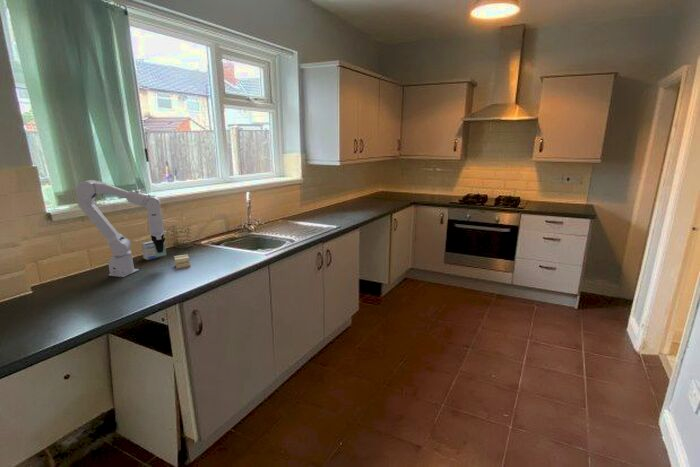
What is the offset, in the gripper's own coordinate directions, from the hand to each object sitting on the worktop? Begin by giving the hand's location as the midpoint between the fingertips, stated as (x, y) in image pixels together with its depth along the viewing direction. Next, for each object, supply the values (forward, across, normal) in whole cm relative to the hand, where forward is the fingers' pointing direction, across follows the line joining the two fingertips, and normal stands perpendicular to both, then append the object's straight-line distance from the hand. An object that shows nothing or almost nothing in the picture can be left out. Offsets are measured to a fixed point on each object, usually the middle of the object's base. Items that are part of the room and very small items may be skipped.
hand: (159, 251), depth 175 cm
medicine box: (+9, +22, +2) cm, 24 cm away
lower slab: (+9, 0, -9) cm, 13 cm away
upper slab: (+7, 0, -9) cm, 11 cm away
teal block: (+2, 0, 0) cm, 2 cm away
